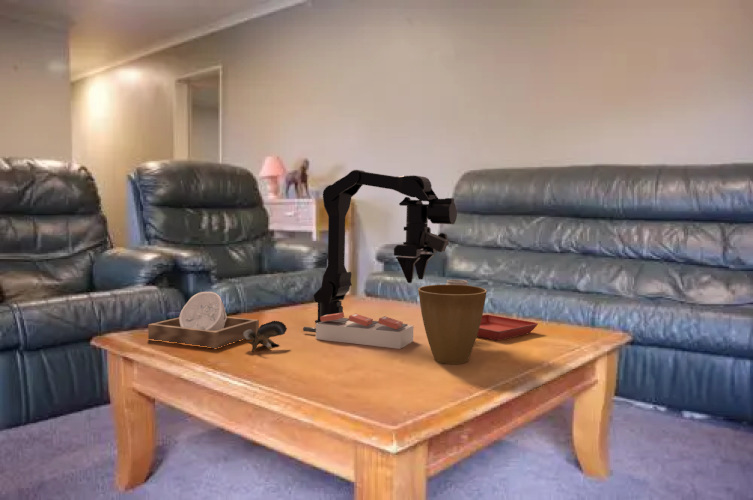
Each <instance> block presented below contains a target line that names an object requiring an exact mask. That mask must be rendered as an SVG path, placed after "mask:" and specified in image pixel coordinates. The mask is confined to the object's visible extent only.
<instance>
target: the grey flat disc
mask: <svg viewBox="0 0 753 500" xmlns="http://www.w3.org/2000/svg"><path fill="white" fill-rule="evenodd" d="M224 316H225V320H224ZM178 317H179V322H180V326H181V327H185V328H193V329H202V330H210V331H216V330H220V329H223V328H224V326H225V322H226V319H227V317H228V316H227V312H226V308H225V304H224V302H223V301H222V298H221V296H220V295H219V294H218V293H216V292H214V291H200V292H197V293H196V294H194V295H192V296H191V297H190V298H189V299H188V301H187V302H186V303H185V304H184V306H183V308H182V309H181V311H180V314H179V316H178Z"/></svg>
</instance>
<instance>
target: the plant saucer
mask: <svg viewBox="0 0 753 500" xmlns="http://www.w3.org/2000/svg"><path fill="white" fill-rule="evenodd" d="M538 325H539V323H538V322H535V321H528V320H522V319H517V318H511V317H506V316H505V317H504V316H498V315H494V314H493V315H492V314H483V315H482V319H481V323H480V327H479V331H478V334H477V337H479V338H484V339H488V340H492V341H501V339H502V340H506V339H510V337H511V338H515V337H514V336H516V337H519V336H518V335H520V336H524V335H523V334H525V335H528V334H527V333H529V334H530V333H531V332H532V331H534V329H536V327H537V326H538ZM505 338H506V339H505Z"/></svg>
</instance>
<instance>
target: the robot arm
mask: <svg viewBox="0 0 753 500" xmlns="http://www.w3.org/2000/svg"><path fill="white" fill-rule="evenodd" d="M362 186H369V187H375V188H380V189H381V188H382V189H386V190H387V189H388V190H393V191H395V192H398V193H400V194H402V195H405V197H404V199H403V200H401V201H400V202H399V206H406V218H405V219H406V220H405V221H406V222H405V223H406V224H405V225H406V226H403V231H405V241H403V242H402V243H403V244H402V243H401V244H397V245H396V246H395V247H393V256H394V257H395V259H396V260H397V262H398V264H399V266H400V268H401V270H402V273H403V275H404V278H405V279H406V282H407V283H408V284H412V282H413V278H414V272H415V271H416V274H417V278H418V280H423V279H424V276H425V273H426V269H427V266H428V264H429V263H428V262H429V261H430V259H431V258H433V257H434V256H435V255H436V253H437V252H439V253H443V252H445V251H446V250H447V247H448V246H449V244H450V243H449V242H450V239H448V234H447V233H444V232H440V233H439V234H435V233H431V231H432V230H431V227H430V226H428V222H429V221H430V223H431V224H433V225H434V224H436V225H437V224H439V225H455V223H456V221H457V215H458V211H457V207H456V204H455V197H446V198H439V197H438V196H437V194H436V193H435V191H434V190H433V188H432V182H431V181H430V179H429V178H428V177H426V176H420V175H400V176H394V175H387V174H380V173H373V172H369V171H364V170H362V169H353V170H351V171H350V172H349V173H347V174H345V175H344V176H343V177H342V178H339V179H338V180H336V181H335V182H334V183H332V184H329V185H327V186H326V187H325V188H324V189H323V191H322V200H323V207H324V209H325V211H326V213H327V216H328V220H327V221H328V225H327V226H328V227H327V233H328V234H327V266H326V268H325V271H324V273H323V274H322V281H321V285H320V288H319V289H317V291H316V292H314V294H313V300H314V302H315V303H317V319H316V320H314V323H315V324H316V323H319V322H321V320H320V317H322V316H324V315H329V314H336V313H343V312H344V307H343V306H342V302H343V300H344V299H345V297H346V294H347V293H348V292H349V291H350V287H351V286H352V272H351V271H347V269H346V266H345V256H346V255H345V253H346V252H345V247H346V244H345V241H346V238H345V237H346V216H347V214H348V212H349V210H350V207H351V202H352V198H353V197H354V196H355V195H356V194H357V193H358V192H359V190H360V189H361V187H362ZM412 198H416V199H412ZM423 202H428V203H427V204H426V203H423ZM428 220H429V221H428Z"/></svg>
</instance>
